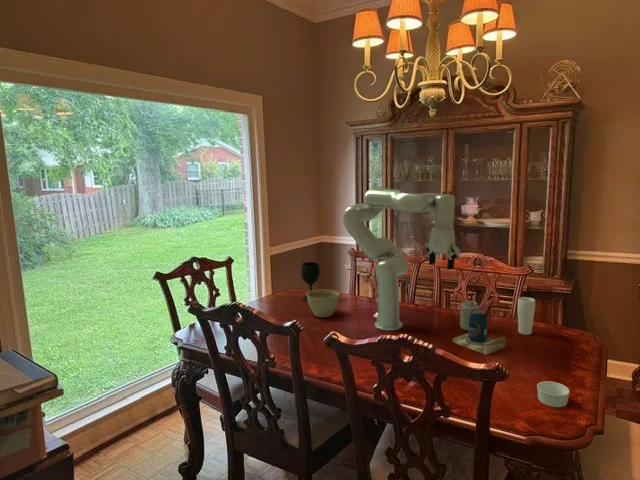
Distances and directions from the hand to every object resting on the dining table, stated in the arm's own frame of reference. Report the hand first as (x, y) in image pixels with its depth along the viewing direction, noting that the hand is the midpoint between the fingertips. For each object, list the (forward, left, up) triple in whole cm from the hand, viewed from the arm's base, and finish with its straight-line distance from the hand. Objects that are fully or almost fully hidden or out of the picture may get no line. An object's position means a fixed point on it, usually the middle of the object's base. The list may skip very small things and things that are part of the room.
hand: (441, 266), depth 185 cm
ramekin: (+55, -12, -31) cm, 64 cm away
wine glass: (-83, -11, -31) cm, 89 cm away
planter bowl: (-56, -21, -31) cm, 67 cm away
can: (0, +19, -31) cm, 37 cm away
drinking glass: (+18, +33, -31) cm, 49 cm away
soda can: (+14, +7, -29) cm, 33 cm away
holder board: (+14, +7, -31) cm, 35 cm away
